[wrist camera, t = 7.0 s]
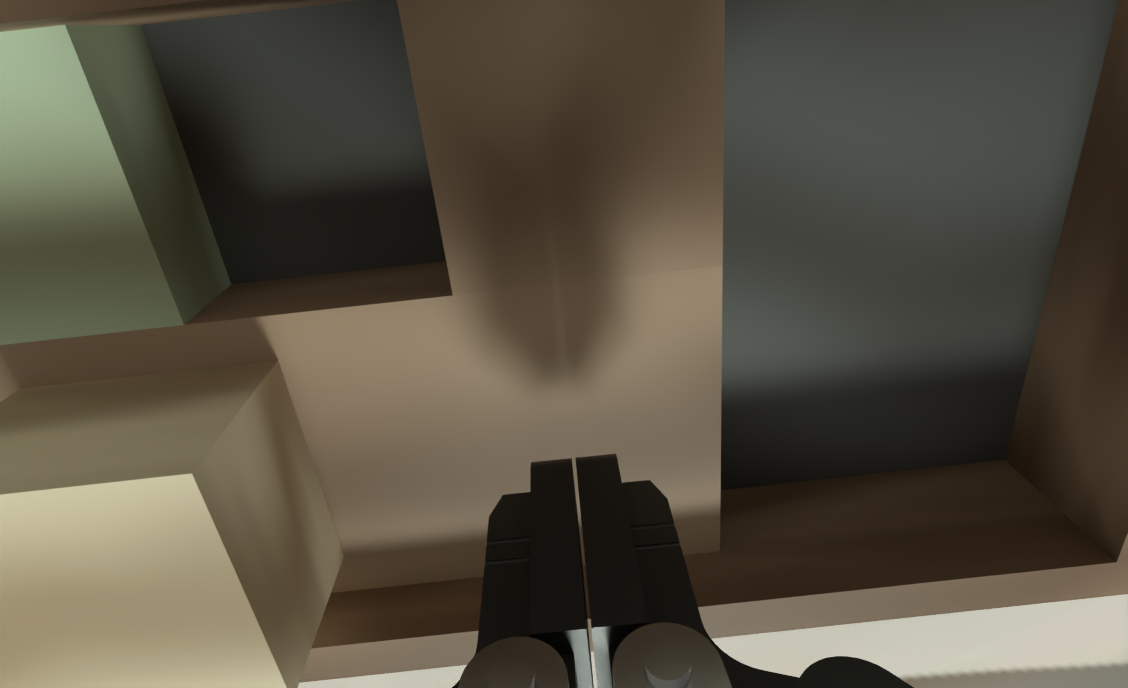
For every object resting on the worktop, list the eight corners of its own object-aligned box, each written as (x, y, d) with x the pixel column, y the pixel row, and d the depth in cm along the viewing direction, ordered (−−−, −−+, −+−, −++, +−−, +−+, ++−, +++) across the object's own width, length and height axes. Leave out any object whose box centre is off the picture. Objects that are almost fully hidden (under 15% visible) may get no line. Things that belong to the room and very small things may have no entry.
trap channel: (-257, 6, 12) (-611, -3, 8) (1194, -157, 11) (1494, -240, 8) (79, 578, 18) (-35, 718, 14) (1024, 476, 18) (1149, 591, 14)
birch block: (18, 388, 12) (-155, 511, 9) (277, 360, 12) (191, 473, 9) (124, 579, 15) (12, 731, 11) (343, 555, 15) (292, 700, 11)
